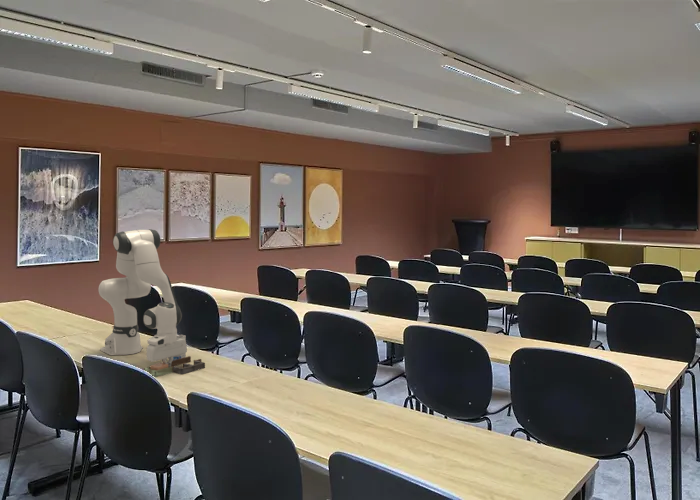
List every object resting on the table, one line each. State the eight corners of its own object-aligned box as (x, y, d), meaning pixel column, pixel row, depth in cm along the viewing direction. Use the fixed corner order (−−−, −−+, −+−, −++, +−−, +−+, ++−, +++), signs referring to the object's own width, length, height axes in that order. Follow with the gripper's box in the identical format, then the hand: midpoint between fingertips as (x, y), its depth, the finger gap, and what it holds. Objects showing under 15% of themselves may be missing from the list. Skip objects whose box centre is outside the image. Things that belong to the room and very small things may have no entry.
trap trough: (143, 373, 266) (143, 368, 266) (189, 361, 287) (189, 356, 287) (164, 379, 257) (164, 373, 257) (209, 366, 278) (209, 361, 278)
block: (150, 374, 266) (150, 365, 265) (161, 370, 271) (161, 362, 270) (157, 375, 263) (157, 367, 263) (168, 372, 268) (168, 364, 268)
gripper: (181, 332, 280) (181, 361, 281) (144, 340, 263) (144, 370, 265) (189, 334, 276) (189, 363, 277) (152, 342, 260) (153, 373, 261)
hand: (167, 366), depth 271 cm, fingers closed
